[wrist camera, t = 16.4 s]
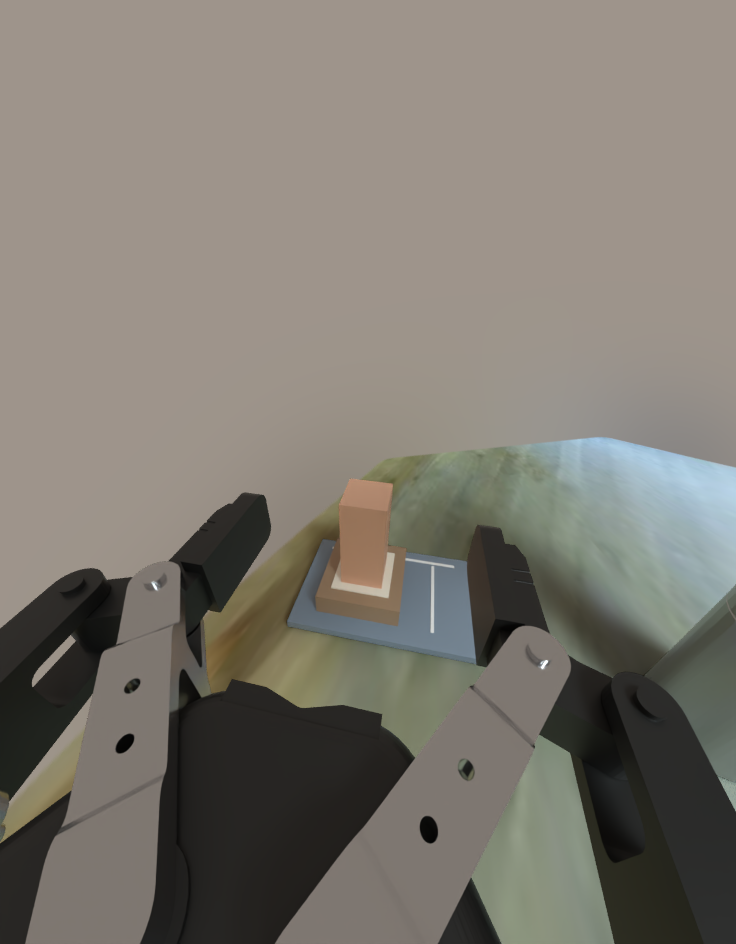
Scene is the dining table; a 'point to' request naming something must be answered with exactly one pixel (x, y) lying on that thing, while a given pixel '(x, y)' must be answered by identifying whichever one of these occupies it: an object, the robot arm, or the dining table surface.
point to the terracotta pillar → (364, 531)
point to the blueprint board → (410, 610)
